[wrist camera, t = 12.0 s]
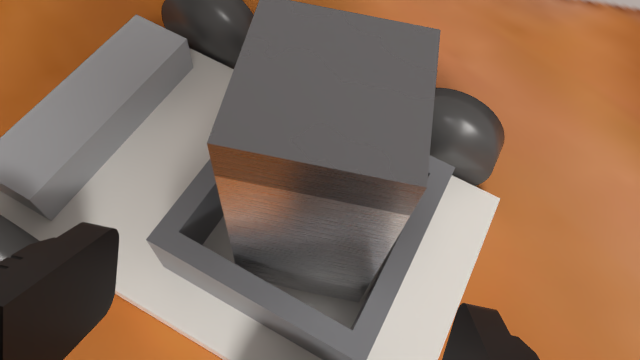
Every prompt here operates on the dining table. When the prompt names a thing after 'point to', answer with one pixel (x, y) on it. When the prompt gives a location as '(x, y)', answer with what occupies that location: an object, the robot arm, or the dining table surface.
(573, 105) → the dining table surface
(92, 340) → the dining table surface
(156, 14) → the dining table surface
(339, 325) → the car chassis
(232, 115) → the grey-topped square pillar
